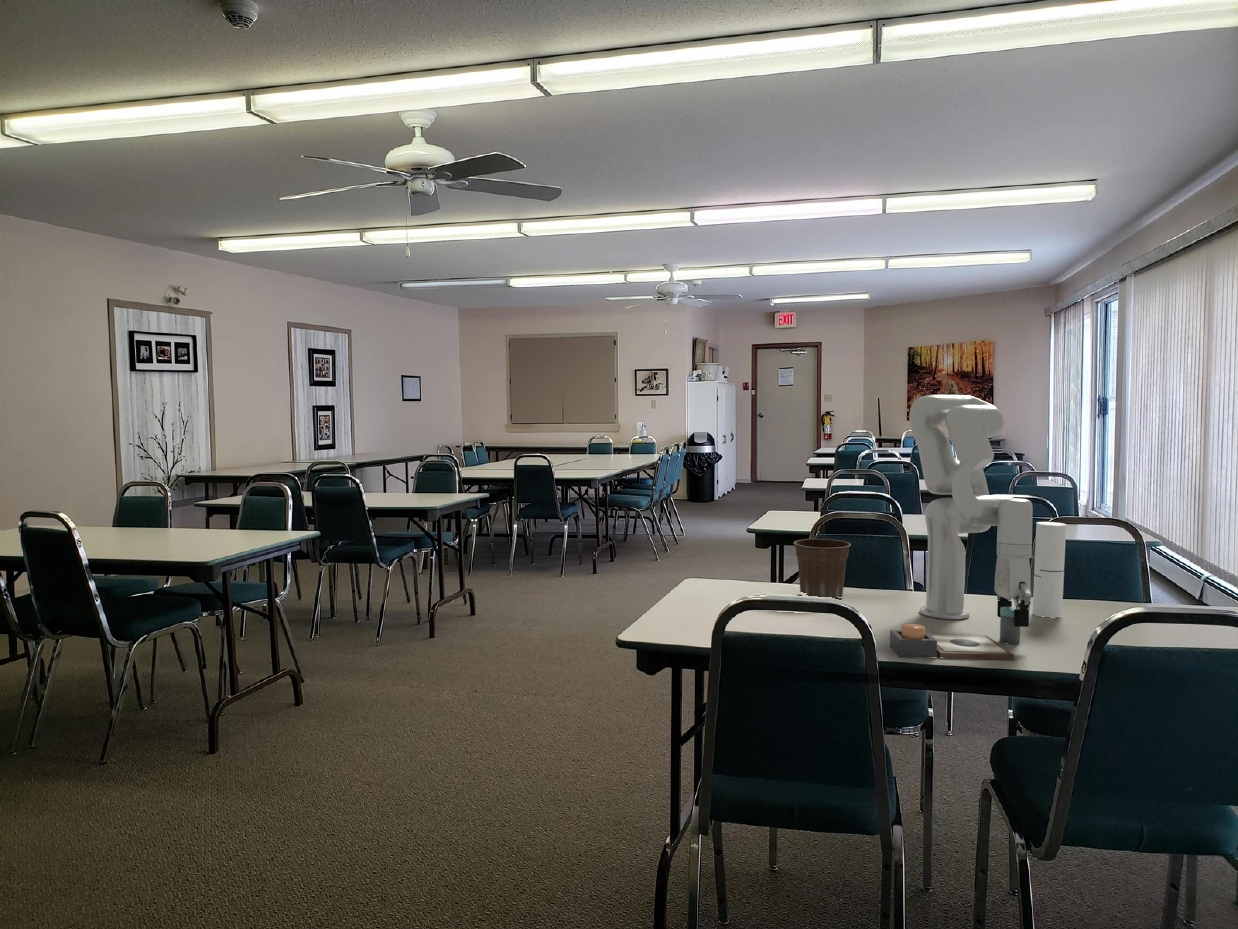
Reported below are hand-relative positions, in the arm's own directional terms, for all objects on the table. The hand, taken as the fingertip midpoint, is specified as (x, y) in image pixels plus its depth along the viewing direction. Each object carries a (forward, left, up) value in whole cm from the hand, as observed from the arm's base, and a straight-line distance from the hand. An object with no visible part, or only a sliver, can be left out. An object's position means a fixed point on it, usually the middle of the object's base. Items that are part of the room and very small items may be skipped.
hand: (1012, 621), depth 200 cm
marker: (-1, 0, -5) cm, 5 cm away
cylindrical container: (-29, +21, -5) cm, 36 cm away
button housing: (+10, -26, -5) cm, 29 cm away
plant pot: (-45, -37, -5) cm, 58 cm away
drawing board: (+6, -13, -5) cm, 15 cm away
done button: (+10, -26, -3) cm, 28 cm away
